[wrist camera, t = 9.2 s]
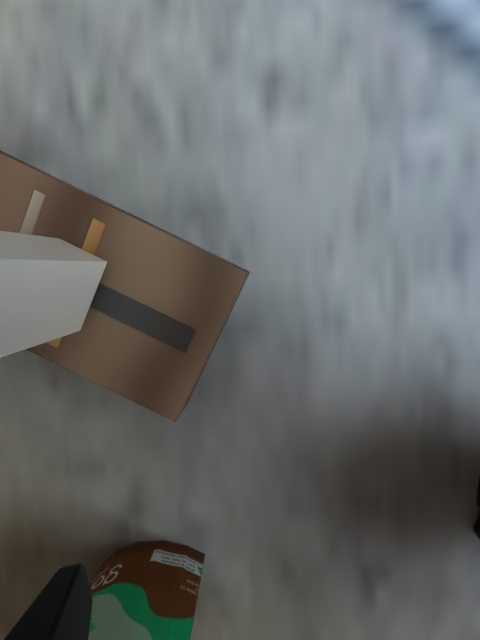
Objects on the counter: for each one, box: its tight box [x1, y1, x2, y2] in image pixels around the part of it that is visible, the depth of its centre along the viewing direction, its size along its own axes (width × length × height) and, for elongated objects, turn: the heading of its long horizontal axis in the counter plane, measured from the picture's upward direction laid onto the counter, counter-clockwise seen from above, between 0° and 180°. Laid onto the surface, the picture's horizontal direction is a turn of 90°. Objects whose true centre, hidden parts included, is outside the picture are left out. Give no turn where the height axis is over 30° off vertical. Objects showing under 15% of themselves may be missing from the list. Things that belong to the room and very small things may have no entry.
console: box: [0, 151, 250, 422], centre depth 17 cm, size 15×8×3 cm, turn 64°
